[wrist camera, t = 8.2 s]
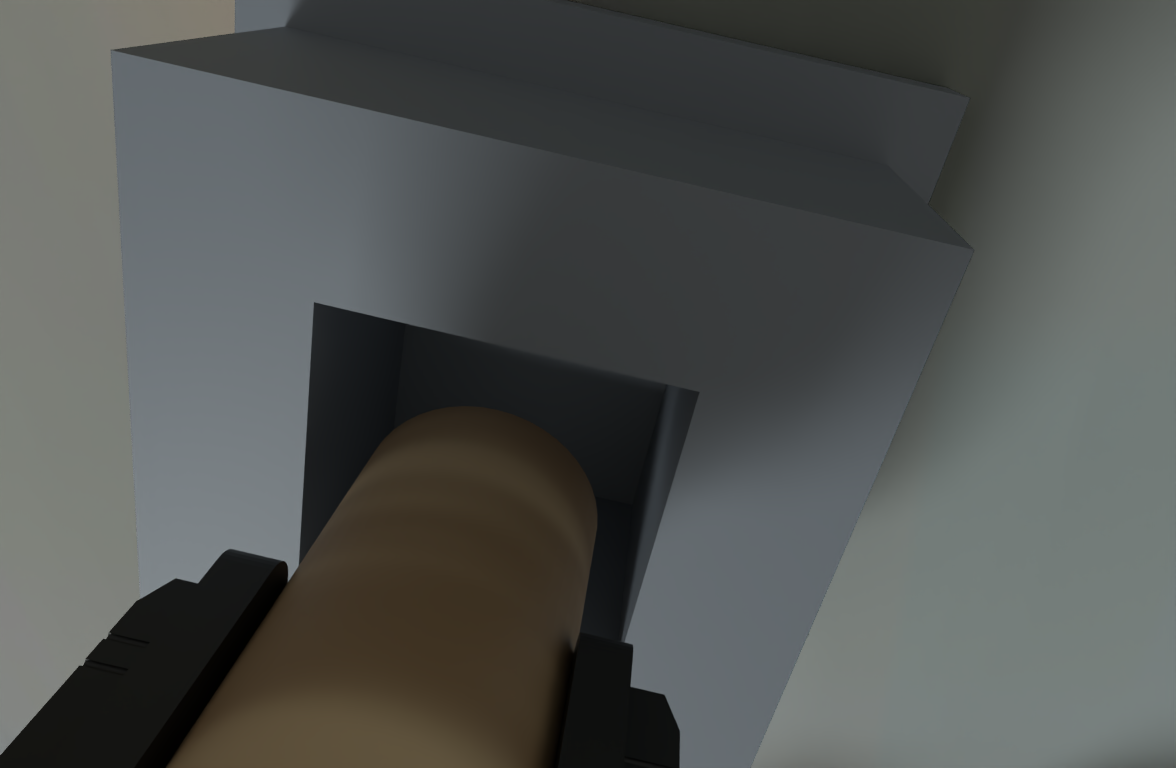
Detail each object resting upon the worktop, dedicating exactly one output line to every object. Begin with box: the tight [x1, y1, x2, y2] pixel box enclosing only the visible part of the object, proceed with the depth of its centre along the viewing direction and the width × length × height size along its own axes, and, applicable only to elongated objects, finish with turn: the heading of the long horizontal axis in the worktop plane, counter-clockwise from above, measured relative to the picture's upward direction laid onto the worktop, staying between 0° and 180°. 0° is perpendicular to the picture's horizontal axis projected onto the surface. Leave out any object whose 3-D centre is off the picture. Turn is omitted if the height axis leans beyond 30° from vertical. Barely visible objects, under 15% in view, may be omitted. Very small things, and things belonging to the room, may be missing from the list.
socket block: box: [111, 0, 974, 768], centre depth 17 cm, size 15×14×7 cm
